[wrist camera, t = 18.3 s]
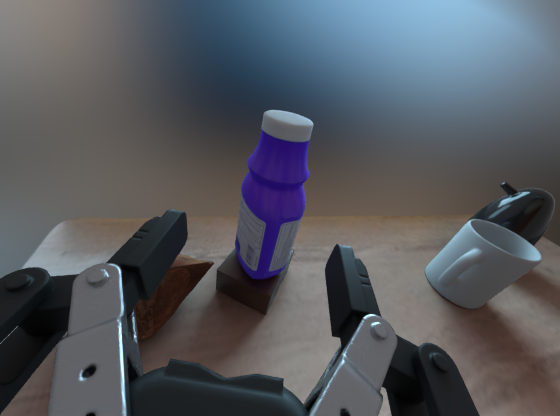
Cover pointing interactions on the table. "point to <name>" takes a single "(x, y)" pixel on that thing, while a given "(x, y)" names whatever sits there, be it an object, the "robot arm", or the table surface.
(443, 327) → the table surface
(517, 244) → the mug
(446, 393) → the robot arm
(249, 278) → the walnut block
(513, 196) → the pump dispenser
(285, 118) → the bottle
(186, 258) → the fossil
